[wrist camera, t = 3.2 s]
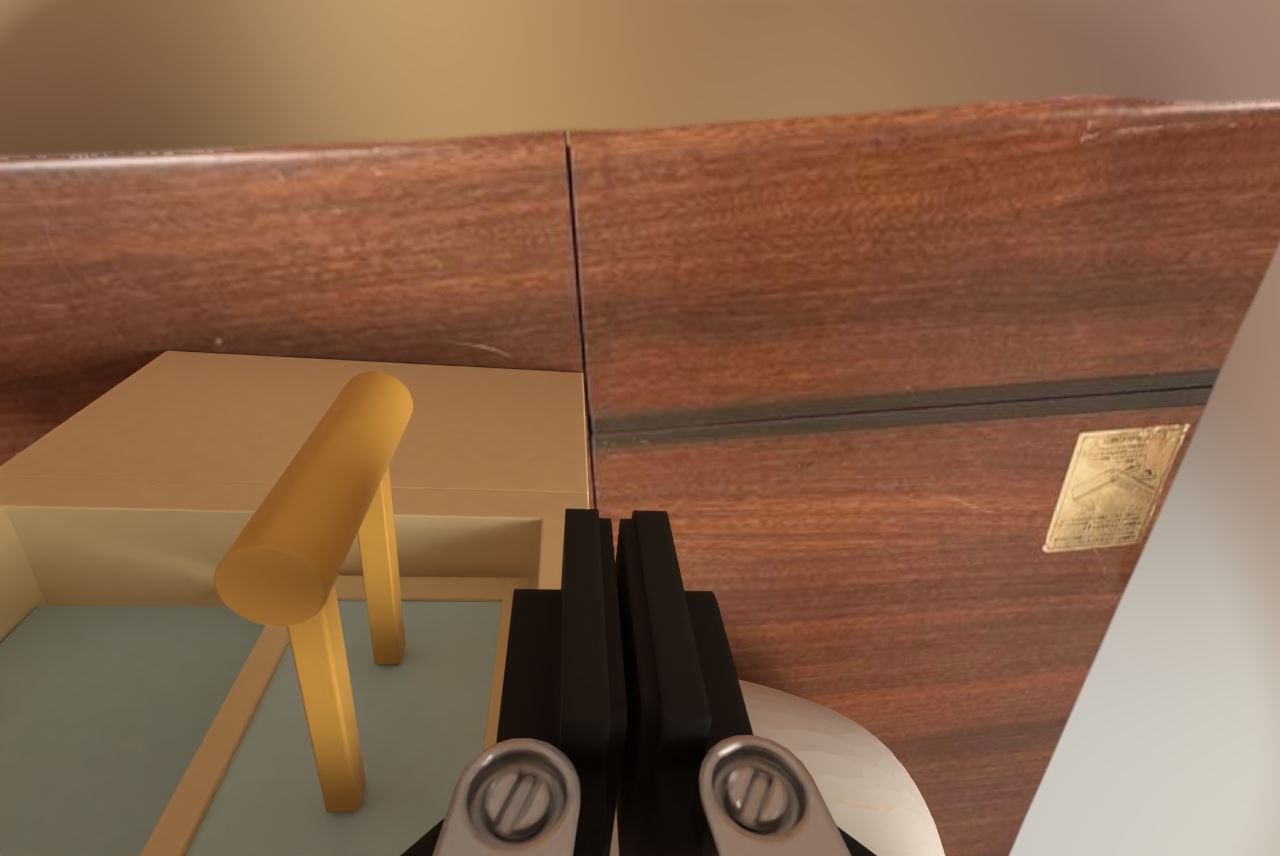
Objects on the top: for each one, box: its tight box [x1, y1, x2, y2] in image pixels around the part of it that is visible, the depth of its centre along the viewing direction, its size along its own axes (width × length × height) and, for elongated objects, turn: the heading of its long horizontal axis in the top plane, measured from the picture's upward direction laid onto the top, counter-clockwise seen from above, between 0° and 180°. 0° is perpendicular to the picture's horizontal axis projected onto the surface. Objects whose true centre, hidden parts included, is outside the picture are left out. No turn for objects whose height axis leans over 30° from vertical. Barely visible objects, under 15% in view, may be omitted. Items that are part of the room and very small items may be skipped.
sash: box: [140, 372, 530, 856], centre depth 14 cm, size 9×7×11 cm
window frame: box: [0, 351, 589, 856], centre depth 20 cm, size 5×18×24 cm, turn 84°
